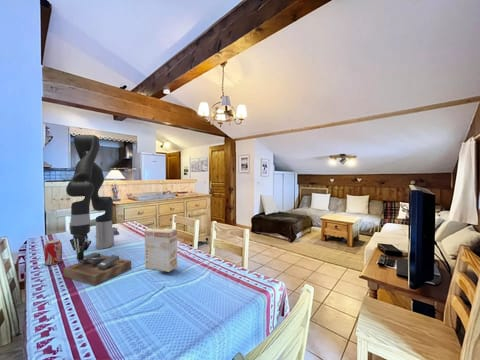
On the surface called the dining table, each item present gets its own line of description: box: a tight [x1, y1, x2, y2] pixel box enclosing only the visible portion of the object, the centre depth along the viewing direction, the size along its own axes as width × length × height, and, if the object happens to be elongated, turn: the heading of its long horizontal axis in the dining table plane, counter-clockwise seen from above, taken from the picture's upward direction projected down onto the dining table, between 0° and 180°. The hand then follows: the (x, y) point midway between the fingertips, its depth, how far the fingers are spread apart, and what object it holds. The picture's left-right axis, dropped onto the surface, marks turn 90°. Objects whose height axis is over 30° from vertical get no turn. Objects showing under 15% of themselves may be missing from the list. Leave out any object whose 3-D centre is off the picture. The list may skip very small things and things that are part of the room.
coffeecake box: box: [144, 226, 178, 273], centre depth 107 cm, size 15×7×20 cm, turn 71°
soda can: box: [43, 239, 63, 266], centre depth 113 cm, size 7×7×12 cm
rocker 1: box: [77, 251, 101, 263], centre depth 104 cm, size 8×4×2 cm, turn 157°
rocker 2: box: [87, 257, 108, 263], centre depth 101 cm, size 8×4×2 cm, turn 157°
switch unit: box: [63, 254, 132, 286], centre depth 102 cm, size 18×22×5 cm
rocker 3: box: [97, 254, 121, 270], centre depth 99 cm, size 8×4×2 cm, turn 157°
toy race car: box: [112, 226, 120, 236], centre depth 162 cm, size 10×15×6 cm, turn 139°
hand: (80, 259), depth 100 cm, fingers closed
